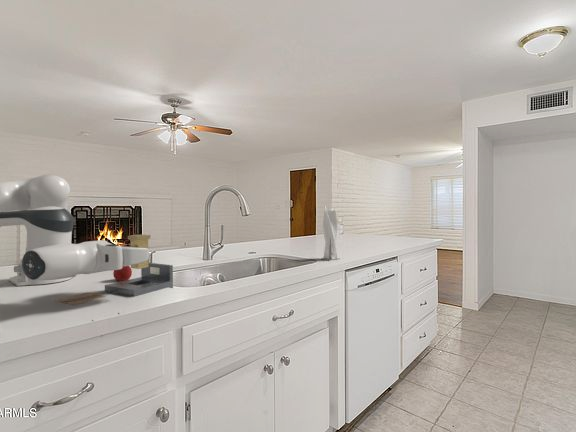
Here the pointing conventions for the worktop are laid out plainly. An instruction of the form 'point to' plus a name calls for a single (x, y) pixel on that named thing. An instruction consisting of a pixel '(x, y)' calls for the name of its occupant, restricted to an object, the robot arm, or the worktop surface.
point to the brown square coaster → (80, 298)
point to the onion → (123, 273)
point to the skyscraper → (330, 234)
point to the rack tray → (145, 281)
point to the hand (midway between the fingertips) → (142, 250)
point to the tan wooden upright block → (139, 242)
